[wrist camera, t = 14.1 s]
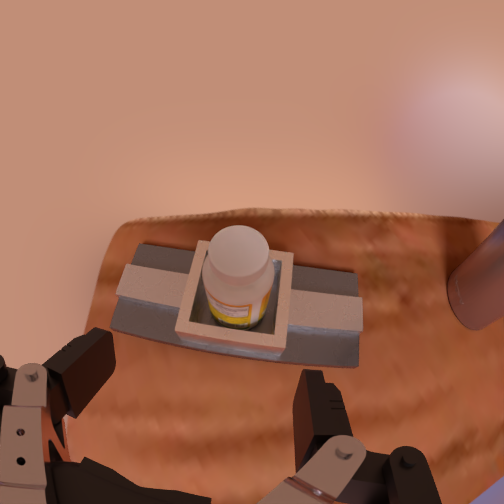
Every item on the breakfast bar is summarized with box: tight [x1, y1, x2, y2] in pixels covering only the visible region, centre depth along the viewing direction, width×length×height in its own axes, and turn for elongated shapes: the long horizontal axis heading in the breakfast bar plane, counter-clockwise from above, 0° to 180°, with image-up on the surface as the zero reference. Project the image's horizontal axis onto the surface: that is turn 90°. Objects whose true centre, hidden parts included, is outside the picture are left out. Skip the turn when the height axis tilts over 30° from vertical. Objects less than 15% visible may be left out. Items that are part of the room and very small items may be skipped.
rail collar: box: [110, 240, 363, 368], centre depth 26 cm, size 24×10×4 cm, turn 82°
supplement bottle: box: [202, 225, 274, 331], centre depth 22 cm, size 5×5×10 cm
